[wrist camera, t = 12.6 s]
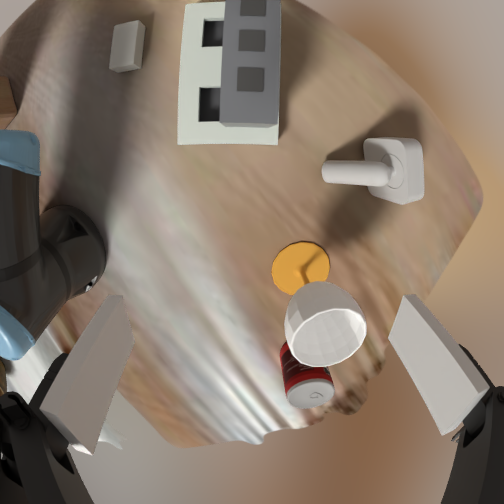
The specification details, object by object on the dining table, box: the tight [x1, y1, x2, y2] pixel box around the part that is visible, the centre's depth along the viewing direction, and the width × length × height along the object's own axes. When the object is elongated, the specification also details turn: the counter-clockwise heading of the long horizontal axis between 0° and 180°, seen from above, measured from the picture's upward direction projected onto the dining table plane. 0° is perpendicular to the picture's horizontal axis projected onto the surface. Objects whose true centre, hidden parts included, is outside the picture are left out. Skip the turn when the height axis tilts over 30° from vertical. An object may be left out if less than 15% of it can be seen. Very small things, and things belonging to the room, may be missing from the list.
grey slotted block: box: [219, 0, 280, 128], centre depth 23 cm, size 5×16×12 cm, turn 178°
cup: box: [271, 242, 366, 367], centre depth 34 cm, size 9×9×16 cm
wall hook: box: [322, 137, 424, 205], centre depth 31 cm, size 8×10×10 cm
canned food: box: [280, 342, 335, 409], centre depth 43 cm, size 8×8×11 cm
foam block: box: [109, 20, 146, 73], centre depth 25 cm, size 4×7×3 cm, turn 178°
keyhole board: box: [178, 2, 281, 145], centre depth 28 cm, size 12×20×3 cm, turn 178°
